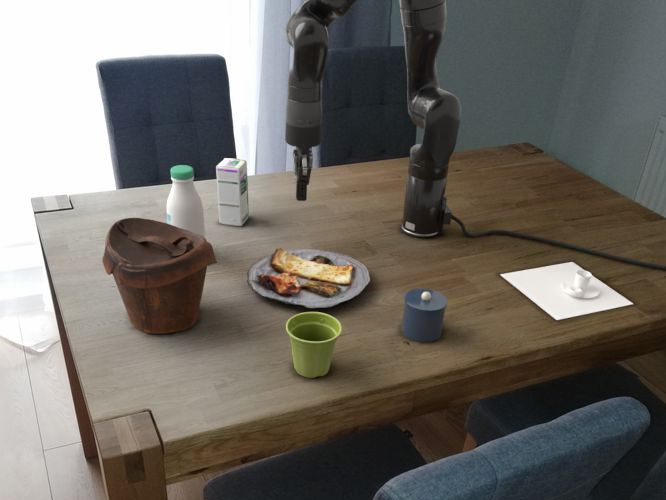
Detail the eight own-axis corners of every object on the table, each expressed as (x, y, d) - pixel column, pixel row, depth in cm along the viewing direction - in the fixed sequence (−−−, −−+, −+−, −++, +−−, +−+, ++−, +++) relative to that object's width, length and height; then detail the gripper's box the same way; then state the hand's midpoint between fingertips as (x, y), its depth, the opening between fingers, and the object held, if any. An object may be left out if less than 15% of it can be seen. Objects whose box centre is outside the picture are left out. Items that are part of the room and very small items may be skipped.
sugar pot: (436, 319, 140) (442, 281, 135) (447, 342, 133) (453, 302, 129) (396, 320, 139) (401, 281, 134) (405, 343, 132) (410, 303, 128)
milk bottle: (213, 254, 158) (208, 166, 147) (193, 268, 152) (186, 177, 141) (184, 246, 160) (177, 159, 149) (163, 259, 155) (154, 170, 143)
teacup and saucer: (573, 303, 148) (578, 286, 146) (550, 285, 154) (554, 268, 152) (607, 296, 151) (612, 279, 149) (582, 279, 157) (587, 262, 155)
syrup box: (241, 226, 170) (240, 168, 162) (218, 223, 171) (215, 164, 163) (249, 217, 175) (248, 159, 167) (226, 214, 176) (223, 156, 168)
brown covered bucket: (226, 336, 131) (222, 248, 121) (113, 349, 126) (99, 258, 116) (212, 289, 145) (208, 206, 135) (110, 299, 140) (97, 213, 130)
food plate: (227, 295, 144) (226, 279, 142) (278, 249, 162) (278, 235, 160) (342, 325, 136) (343, 309, 134) (382, 273, 155) (384, 259, 153)
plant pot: (346, 360, 127) (349, 318, 122) (328, 390, 119) (330, 347, 115) (297, 348, 129) (298, 307, 124) (276, 376, 122) (276, 334, 117)
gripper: (325, 130, 143) (321, 211, 152) (318, 111, 154) (314, 188, 163) (288, 129, 142) (286, 211, 151) (283, 110, 152) (282, 188, 162)
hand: (301, 199), depth 157 cm, fingers closed
